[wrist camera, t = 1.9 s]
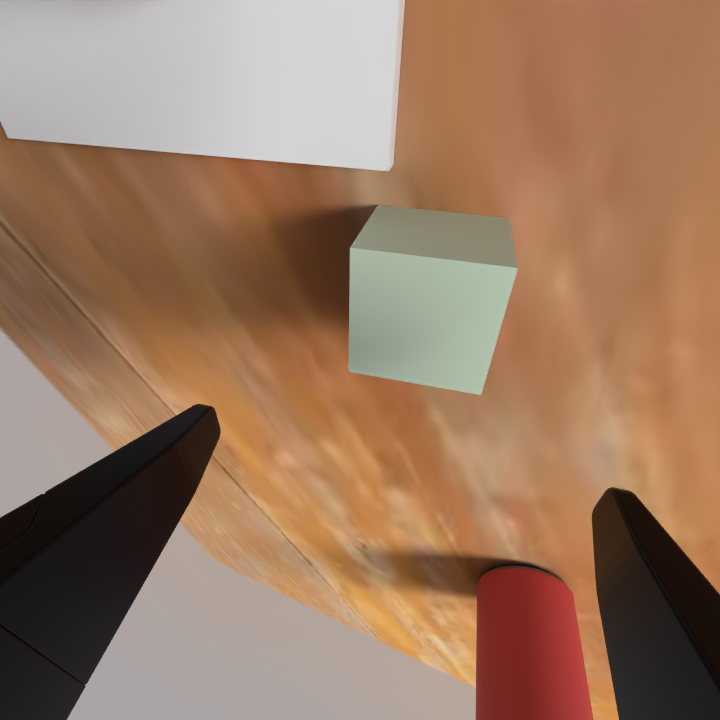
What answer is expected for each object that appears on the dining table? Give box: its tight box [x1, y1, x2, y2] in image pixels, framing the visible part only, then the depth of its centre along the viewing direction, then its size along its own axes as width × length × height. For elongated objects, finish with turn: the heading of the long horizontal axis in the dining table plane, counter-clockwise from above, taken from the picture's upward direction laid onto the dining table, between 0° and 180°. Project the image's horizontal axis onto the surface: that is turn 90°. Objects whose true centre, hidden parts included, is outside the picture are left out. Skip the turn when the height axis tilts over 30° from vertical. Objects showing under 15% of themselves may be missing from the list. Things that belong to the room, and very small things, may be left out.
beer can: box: [476, 565, 593, 720], centre depth 26 cm, size 7×7×12 cm
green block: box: [349, 205, 518, 395], centre depth 15 cm, size 5×5×4 cm
